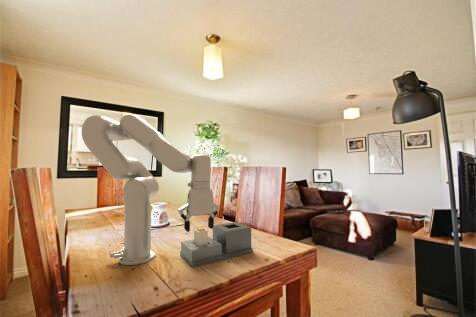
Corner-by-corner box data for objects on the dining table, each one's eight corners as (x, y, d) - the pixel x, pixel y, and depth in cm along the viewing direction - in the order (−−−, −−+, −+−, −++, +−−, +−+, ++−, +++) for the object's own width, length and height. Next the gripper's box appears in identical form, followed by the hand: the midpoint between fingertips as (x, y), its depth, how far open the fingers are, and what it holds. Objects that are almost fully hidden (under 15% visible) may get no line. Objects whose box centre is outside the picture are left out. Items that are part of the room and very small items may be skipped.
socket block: (192, 267, 76) (192, 238, 77) (180, 254, 88) (180, 229, 89) (252, 252, 90) (252, 227, 91) (235, 243, 102) (234, 221, 103)
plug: (198, 256, 83) (198, 230, 83) (193, 252, 87) (193, 227, 87) (207, 253, 85) (207, 228, 86) (202, 250, 89) (202, 226, 90)
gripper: (182, 186, 79) (180, 234, 78) (224, 186, 89) (223, 228, 88) (176, 185, 86) (174, 230, 85) (215, 184, 95) (214, 224, 94)
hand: (199, 229), depth 86 cm, fingers open, 9 cm apart
